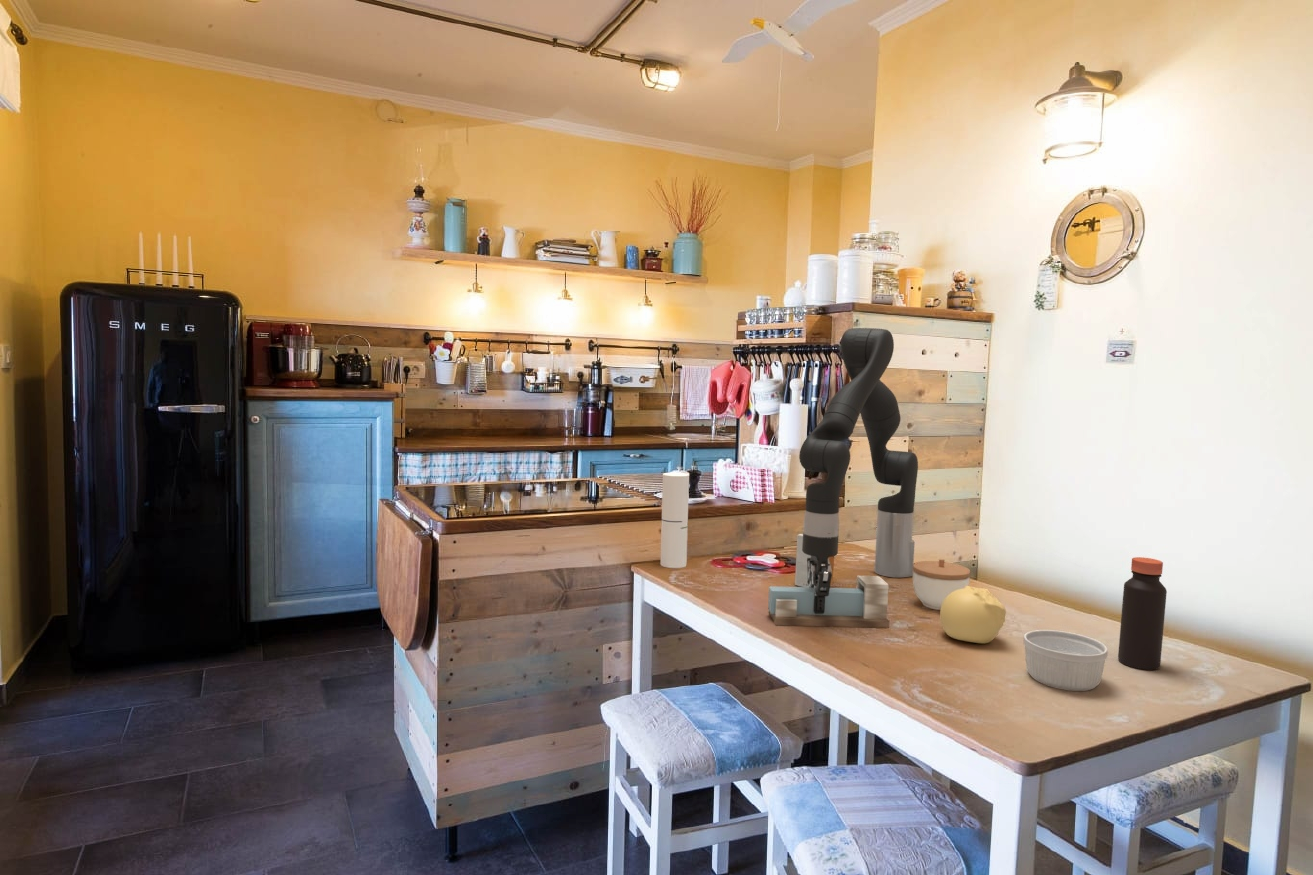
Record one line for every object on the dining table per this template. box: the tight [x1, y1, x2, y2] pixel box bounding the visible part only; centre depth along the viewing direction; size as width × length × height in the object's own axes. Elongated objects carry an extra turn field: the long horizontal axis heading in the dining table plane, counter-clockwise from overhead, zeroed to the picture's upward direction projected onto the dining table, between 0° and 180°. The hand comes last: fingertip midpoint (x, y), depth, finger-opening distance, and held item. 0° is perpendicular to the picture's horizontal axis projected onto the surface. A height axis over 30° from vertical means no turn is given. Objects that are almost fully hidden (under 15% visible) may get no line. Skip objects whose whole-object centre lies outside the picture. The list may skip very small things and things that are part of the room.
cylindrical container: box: [660, 472, 690, 569], centre depth 208 cm, size 7×7×25 cm
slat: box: [767, 585, 864, 616], centre depth 165 cm, size 20×4×5 cm, turn 90°
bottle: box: [1117, 556, 1168, 671], centre depth 143 cm, size 7×7×20 cm
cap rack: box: [768, 575, 890, 629], centre depth 165 cm, size 24×9×9 cm, turn 91°
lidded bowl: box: [912, 558, 971, 611], centre depth 177 cm, size 13×13×11 cm
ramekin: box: [1022, 629, 1109, 692], centre depth 136 cm, size 13×13×7 cm
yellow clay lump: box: [939, 585, 1007, 644], centre depth 155 cm, size 11×12×11 cm
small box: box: [794, 533, 835, 588], centre depth 192 cm, size 8×6×13 cm
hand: (816, 609), depth 165 cm, fingers closed on slat, 3 cm apart
